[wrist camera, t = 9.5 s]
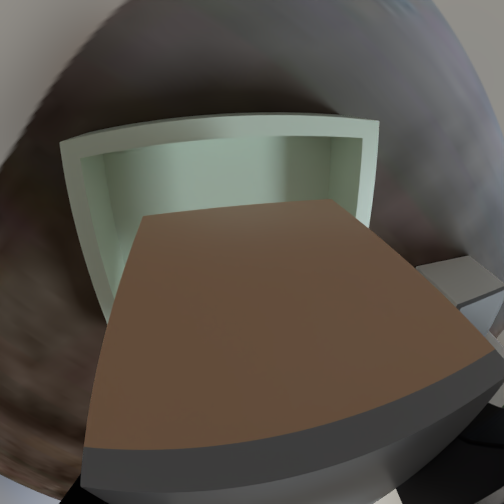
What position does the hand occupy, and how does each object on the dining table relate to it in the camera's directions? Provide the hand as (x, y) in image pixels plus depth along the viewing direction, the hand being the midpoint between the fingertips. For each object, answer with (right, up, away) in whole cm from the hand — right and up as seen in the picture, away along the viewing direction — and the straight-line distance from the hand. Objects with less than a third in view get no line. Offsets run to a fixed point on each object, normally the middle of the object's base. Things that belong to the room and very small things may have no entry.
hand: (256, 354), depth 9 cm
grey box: (0, +1, +2) cm, 2 cm away
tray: (-2, +4, +7) cm, 8 cm away
